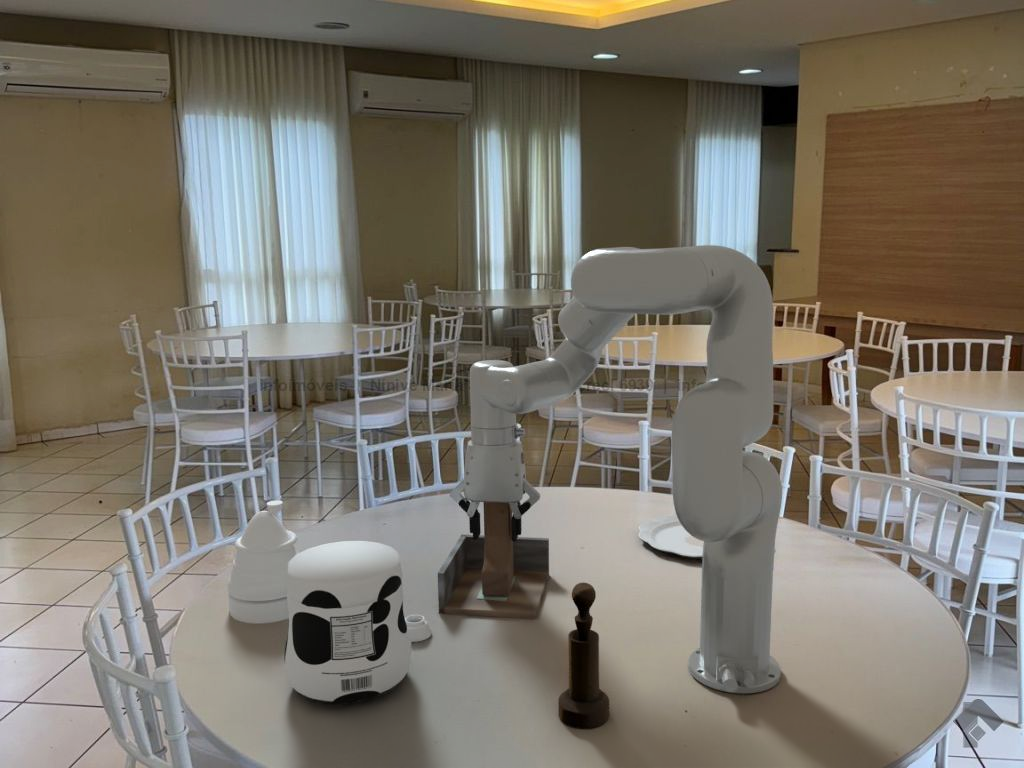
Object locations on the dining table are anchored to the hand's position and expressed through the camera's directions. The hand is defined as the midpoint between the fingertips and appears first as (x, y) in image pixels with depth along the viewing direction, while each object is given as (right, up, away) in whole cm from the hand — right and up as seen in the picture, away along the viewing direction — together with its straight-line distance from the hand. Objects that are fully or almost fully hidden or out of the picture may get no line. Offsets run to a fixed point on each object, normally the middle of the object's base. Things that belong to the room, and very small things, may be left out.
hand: (495, 536), depth 150 cm
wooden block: (0, -9, +2) cm, 9 cm away
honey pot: (-38, -12, -2) cm, 40 cm away
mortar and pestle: (+12, -17, -36) cm, 42 cm away
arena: (0, -10, +2) cm, 10 cm away
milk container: (-20, -16, -27) cm, 37 cm away
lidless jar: (-12, -13, -13) cm, 22 cm away
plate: (+40, -6, +25) cm, 48 cm away
